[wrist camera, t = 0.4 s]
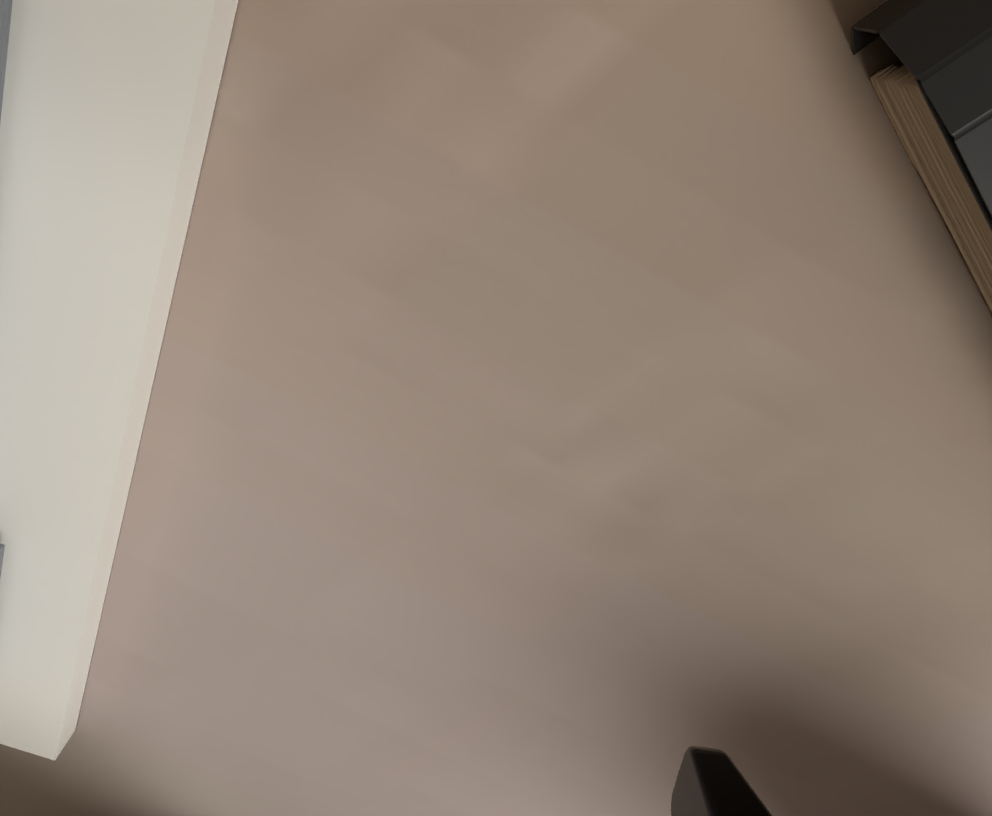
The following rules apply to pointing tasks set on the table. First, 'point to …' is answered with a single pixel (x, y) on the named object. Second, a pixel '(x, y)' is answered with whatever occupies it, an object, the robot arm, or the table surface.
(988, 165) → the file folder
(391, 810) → the table surface
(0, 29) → the link
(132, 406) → the board
